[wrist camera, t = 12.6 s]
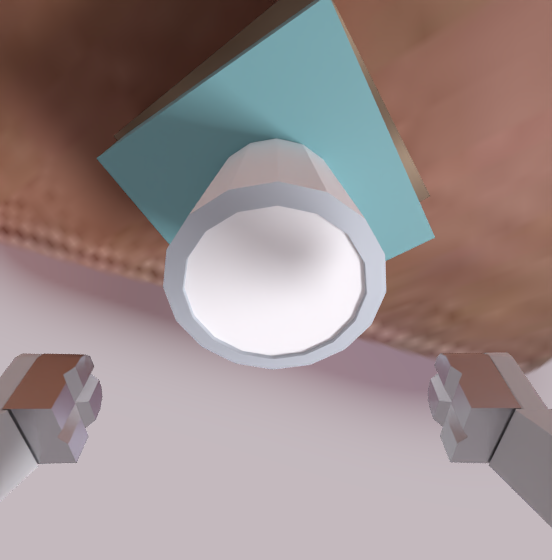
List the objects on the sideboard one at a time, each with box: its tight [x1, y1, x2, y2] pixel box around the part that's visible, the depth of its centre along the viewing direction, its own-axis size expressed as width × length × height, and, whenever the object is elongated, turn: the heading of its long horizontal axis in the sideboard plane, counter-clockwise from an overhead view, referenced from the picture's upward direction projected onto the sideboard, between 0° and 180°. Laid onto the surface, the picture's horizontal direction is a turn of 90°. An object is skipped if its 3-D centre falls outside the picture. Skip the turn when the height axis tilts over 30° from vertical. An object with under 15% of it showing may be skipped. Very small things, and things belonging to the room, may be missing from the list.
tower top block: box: [97, 0, 435, 261], centre depth 20 cm, size 11×11×4 cm
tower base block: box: [114, 0, 430, 202], centre depth 24 cm, size 12×12×5 cm
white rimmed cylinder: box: [163, 138, 386, 369], centre depth 15 cm, size 7×7×7 cm
